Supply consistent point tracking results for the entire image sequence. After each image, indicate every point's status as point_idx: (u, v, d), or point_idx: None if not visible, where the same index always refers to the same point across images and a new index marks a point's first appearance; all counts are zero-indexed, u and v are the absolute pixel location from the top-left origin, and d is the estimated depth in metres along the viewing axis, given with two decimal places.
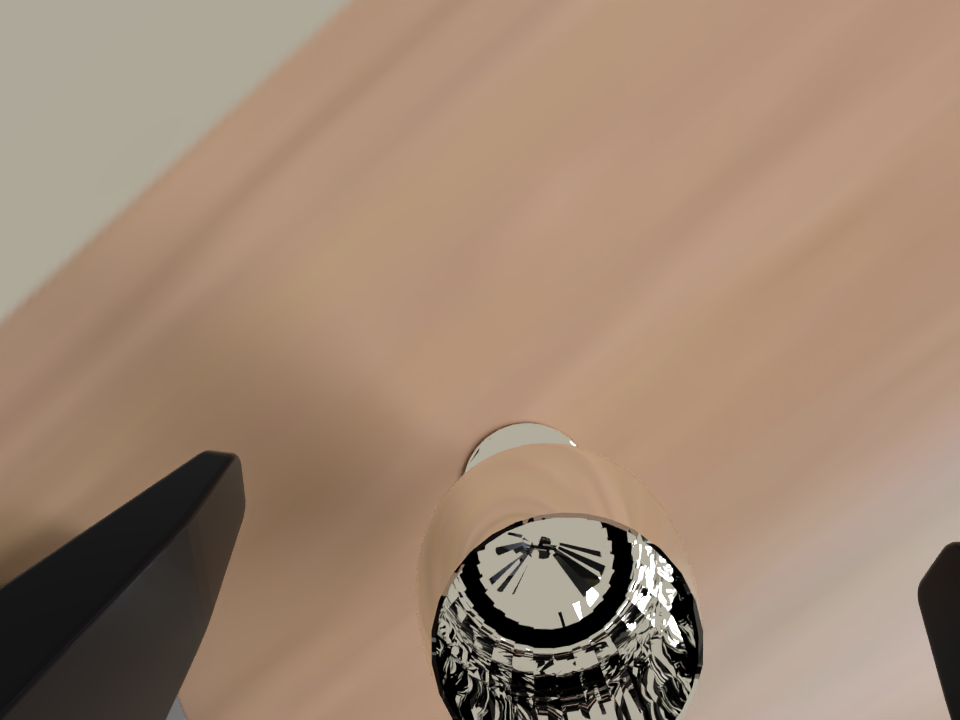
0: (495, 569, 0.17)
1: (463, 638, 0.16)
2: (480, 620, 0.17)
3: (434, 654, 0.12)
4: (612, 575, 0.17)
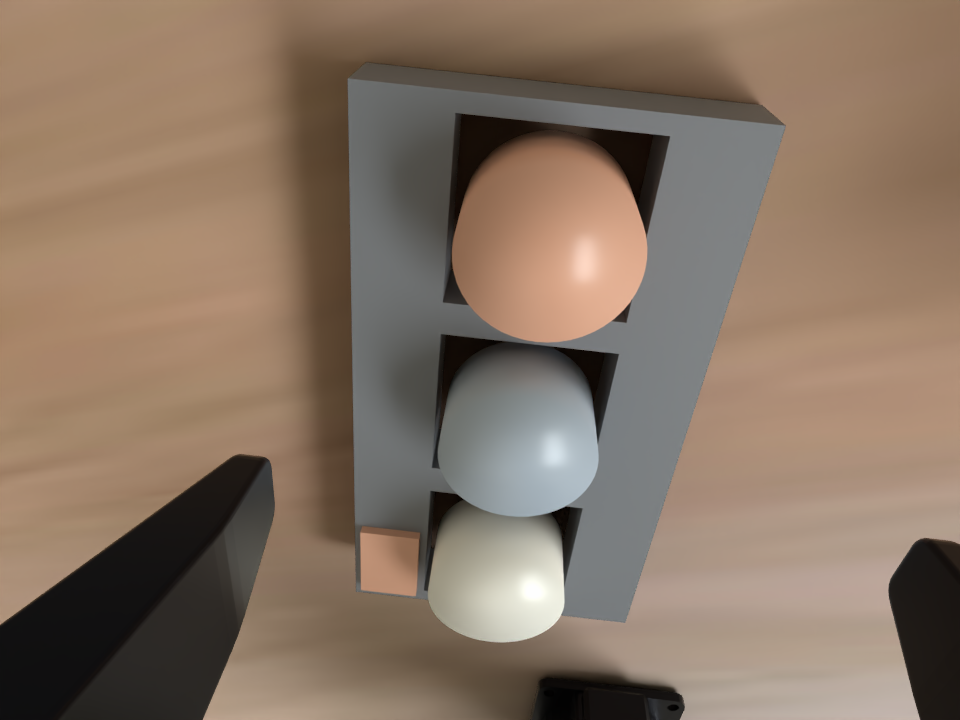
0: None
1: None
2: None
3: None
4: None
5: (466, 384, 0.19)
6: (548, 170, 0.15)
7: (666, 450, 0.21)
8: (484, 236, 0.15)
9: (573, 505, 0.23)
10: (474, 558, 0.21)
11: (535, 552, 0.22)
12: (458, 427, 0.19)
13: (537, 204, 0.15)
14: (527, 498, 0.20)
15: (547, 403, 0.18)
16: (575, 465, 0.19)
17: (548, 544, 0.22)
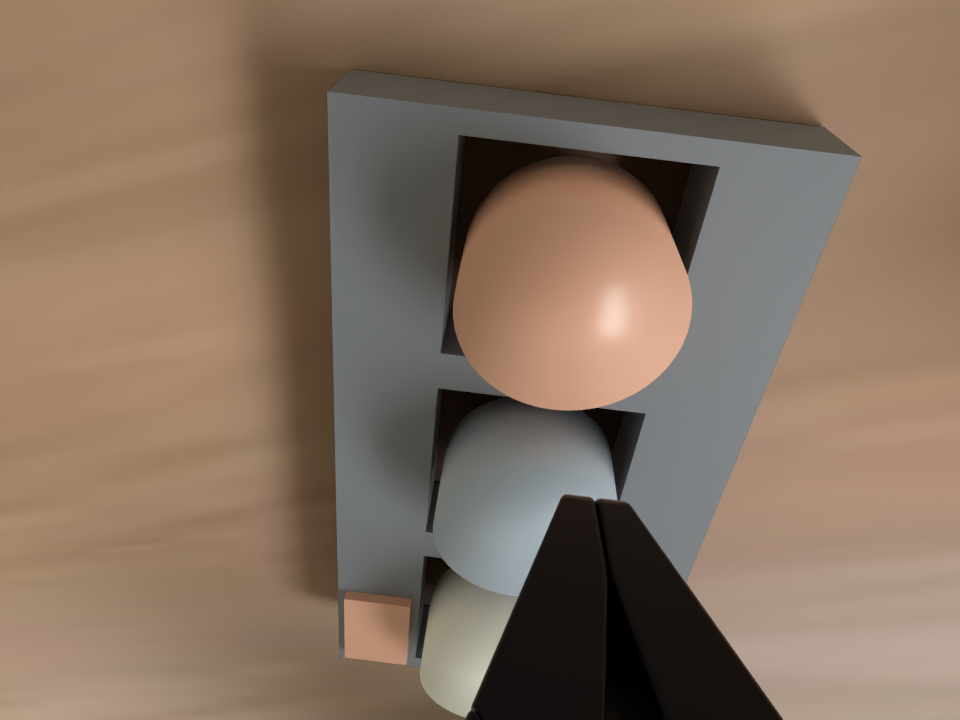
0: None
1: None
2: None
3: None
4: None
5: (467, 448, 0.16)
6: (574, 211, 0.12)
7: (695, 518, 0.18)
8: (492, 288, 0.13)
9: None
10: (474, 639, 0.19)
11: None
12: (457, 501, 0.16)
13: (559, 252, 0.12)
14: None
15: (563, 477, 0.15)
16: None
17: None
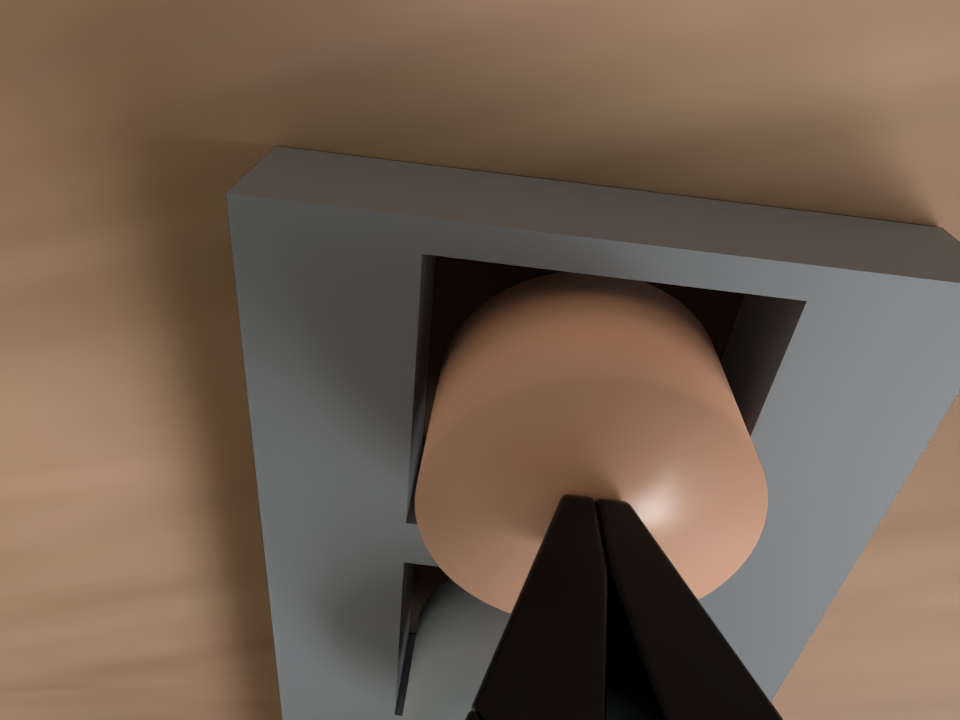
0: None
1: None
2: None
3: None
4: None
5: (443, 645, 0.12)
6: (595, 387, 0.08)
7: None
8: (471, 481, 0.09)
9: None
10: None
11: None
12: None
13: (571, 439, 0.08)
14: None
15: None
16: None
17: None
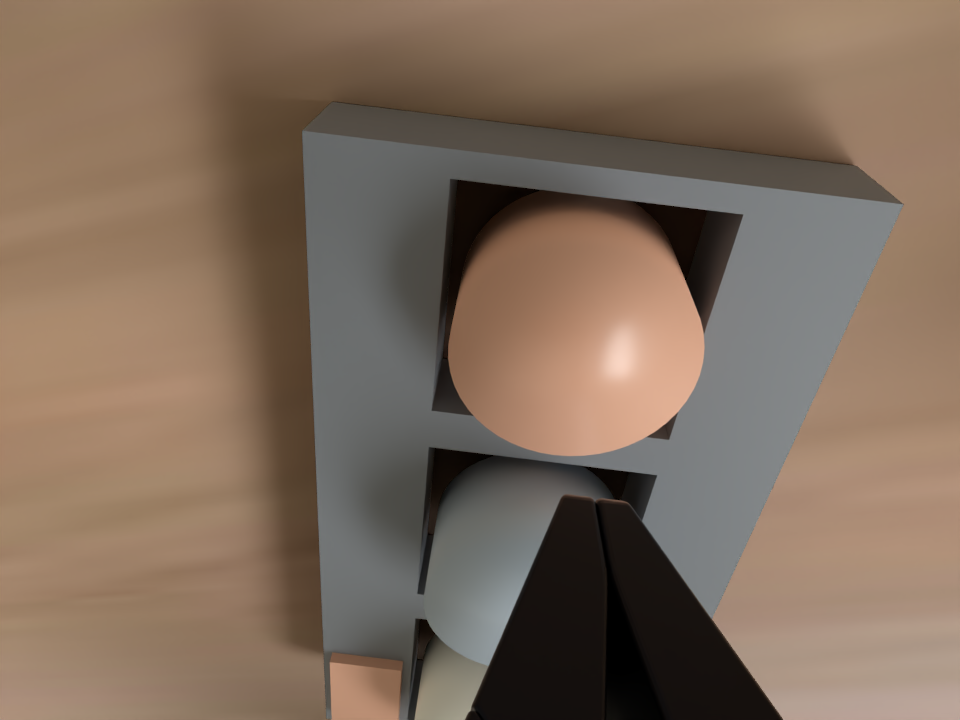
0: None
1: None
2: None
3: None
4: None
5: (461, 514, 0.15)
6: (579, 250, 0.11)
7: (710, 582, 0.17)
8: (490, 330, 0.12)
9: None
10: None
11: None
12: (450, 575, 0.14)
13: (561, 293, 0.11)
14: None
15: None
16: None
17: None
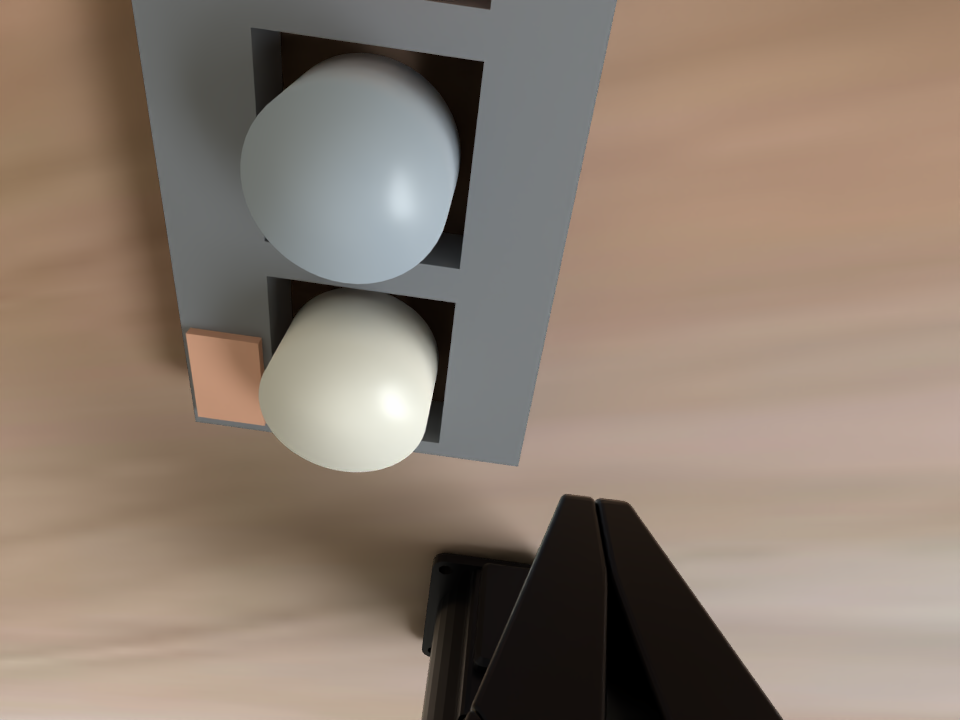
0: None
1: None
2: None
3: None
4: None
5: (281, 93, 0.15)
6: None
7: (553, 215, 0.17)
8: None
9: (444, 298, 0.18)
10: (309, 348, 0.17)
11: (389, 345, 0.17)
12: (262, 138, 0.14)
13: None
14: (364, 254, 0.15)
15: (374, 97, 0.13)
16: (420, 201, 0.15)
17: (411, 343, 0.18)
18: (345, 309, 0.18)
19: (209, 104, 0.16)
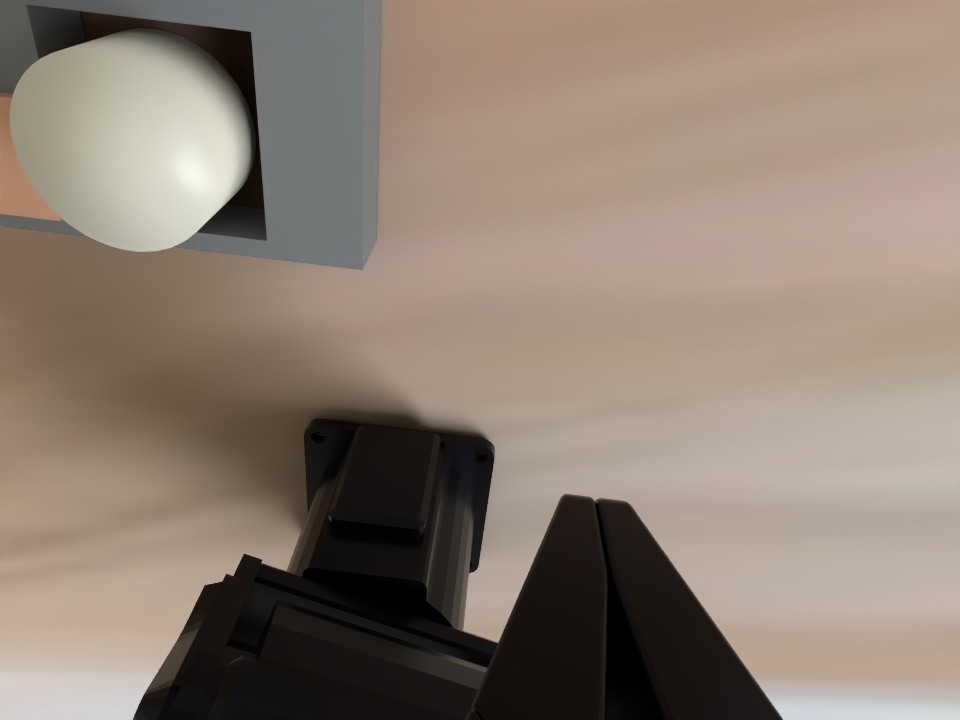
0: None
1: None
2: None
3: None
4: None
5: None
6: None
7: None
8: None
9: (236, 26, 0.15)
10: (55, 63, 0.14)
11: (156, 65, 0.14)
12: None
13: None
14: None
15: None
16: None
17: (195, 77, 0.15)
18: (115, 36, 0.15)
19: None
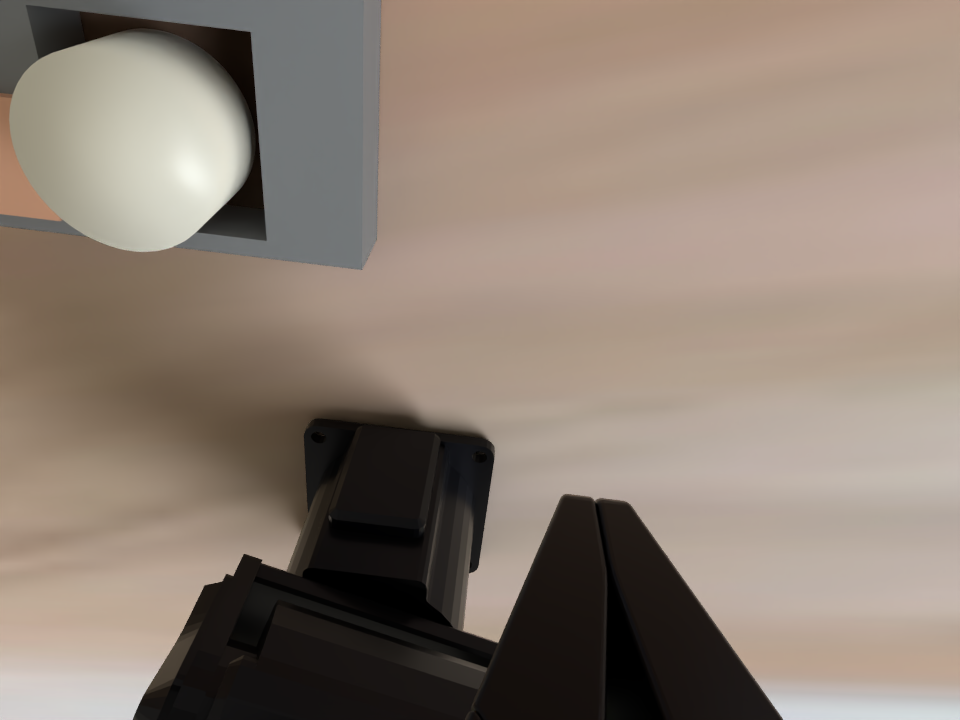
0: None
1: None
2: None
3: None
4: None
5: None
6: None
7: None
8: None
9: (236, 26, 0.15)
10: (55, 63, 0.14)
11: (156, 65, 0.14)
12: None
13: None
14: None
15: None
16: None
17: (194, 77, 0.15)
18: (115, 37, 0.15)
19: None
